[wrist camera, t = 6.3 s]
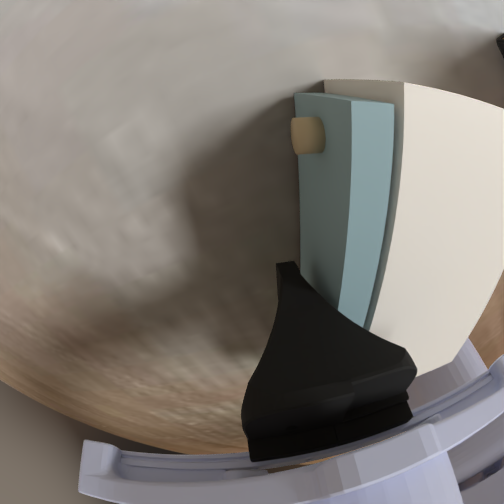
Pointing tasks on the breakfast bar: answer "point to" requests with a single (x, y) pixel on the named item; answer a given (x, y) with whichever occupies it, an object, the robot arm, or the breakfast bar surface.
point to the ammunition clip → (501, 44)
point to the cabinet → (436, 218)
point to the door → (342, 194)
